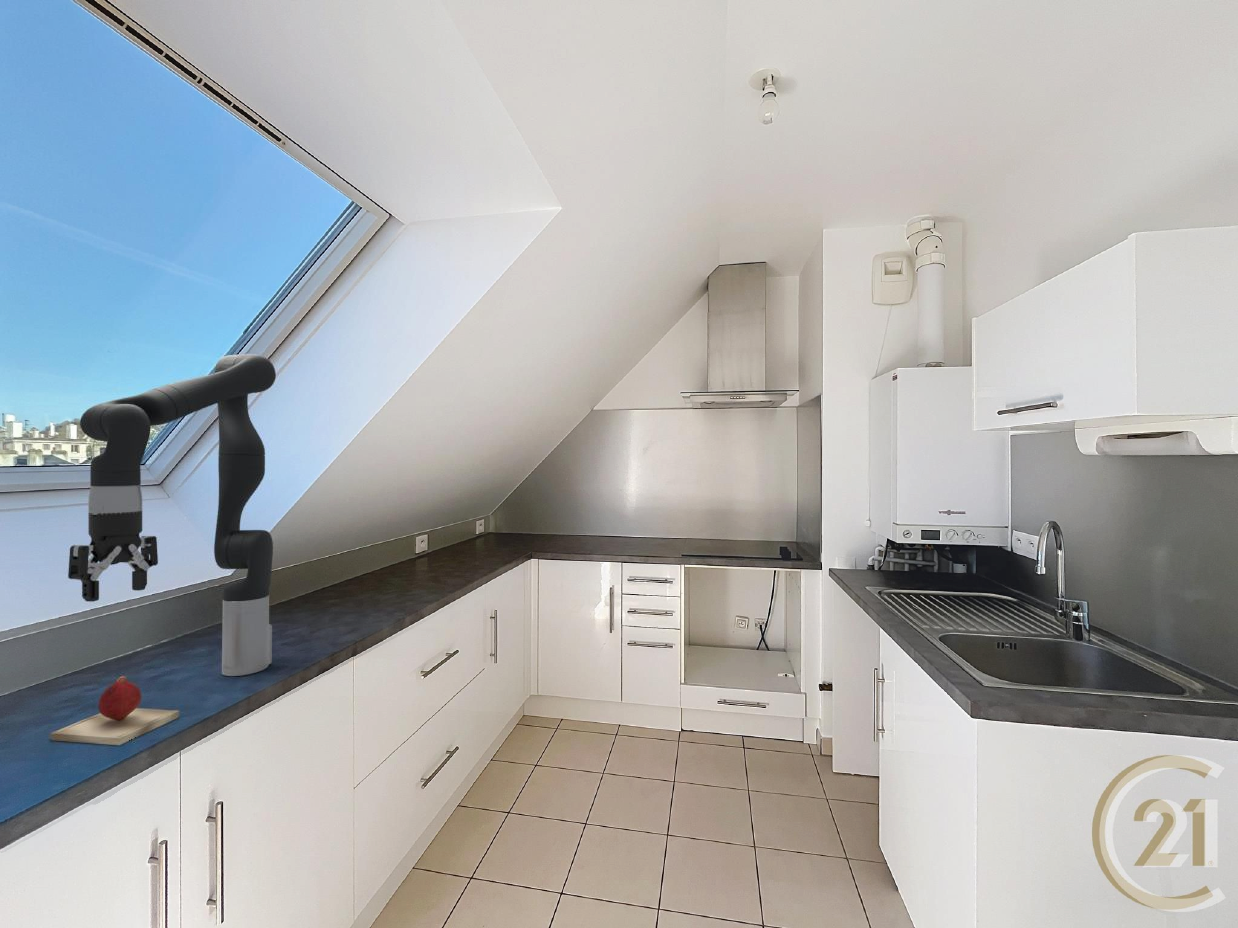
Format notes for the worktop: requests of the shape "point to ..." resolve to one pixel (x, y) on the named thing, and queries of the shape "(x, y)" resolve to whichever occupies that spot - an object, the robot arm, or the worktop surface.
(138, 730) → the board
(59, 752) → the worktop surface
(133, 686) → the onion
